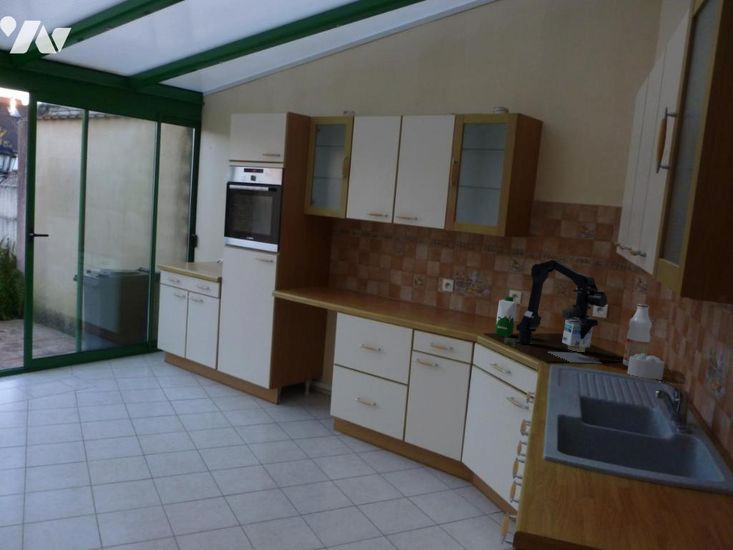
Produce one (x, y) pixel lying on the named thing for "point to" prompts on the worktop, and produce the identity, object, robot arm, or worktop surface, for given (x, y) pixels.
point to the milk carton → (505, 317)
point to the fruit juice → (638, 334)
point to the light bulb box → (575, 334)
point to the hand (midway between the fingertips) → (577, 337)
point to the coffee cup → (576, 348)
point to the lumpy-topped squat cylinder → (646, 366)
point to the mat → (575, 357)
